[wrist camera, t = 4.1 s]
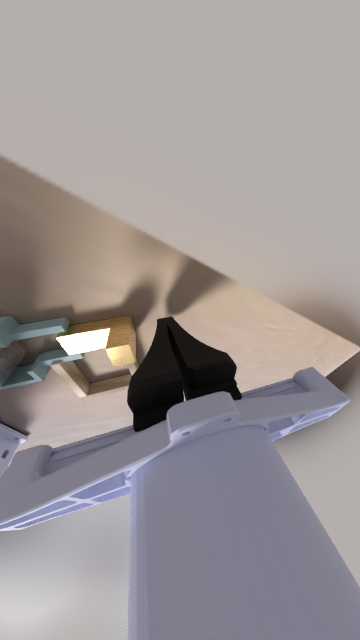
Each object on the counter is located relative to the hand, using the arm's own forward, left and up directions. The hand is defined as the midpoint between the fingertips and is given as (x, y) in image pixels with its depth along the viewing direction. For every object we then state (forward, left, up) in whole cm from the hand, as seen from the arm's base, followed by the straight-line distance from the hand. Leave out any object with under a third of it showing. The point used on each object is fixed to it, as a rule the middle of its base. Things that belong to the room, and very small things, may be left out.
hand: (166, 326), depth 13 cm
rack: (-4, +7, -1) cm, 8 cm away
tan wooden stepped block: (0, +6, -1) cm, 6 cm away
